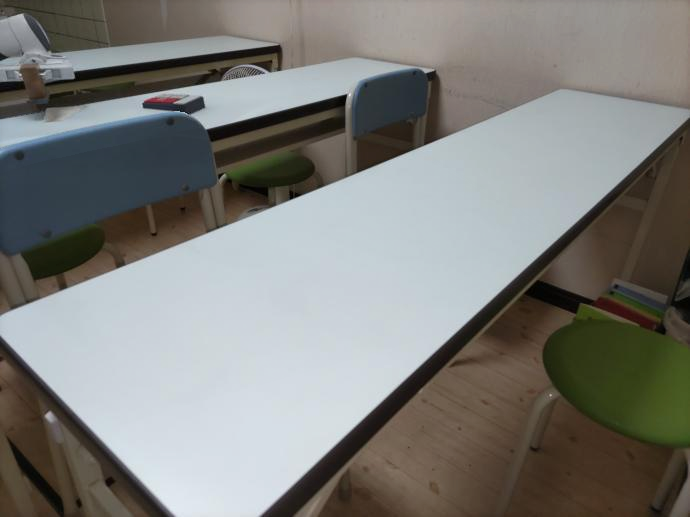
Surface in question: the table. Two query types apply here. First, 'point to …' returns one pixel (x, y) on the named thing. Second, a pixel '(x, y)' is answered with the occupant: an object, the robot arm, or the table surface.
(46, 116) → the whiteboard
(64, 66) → the robot arm
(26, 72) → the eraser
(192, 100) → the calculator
